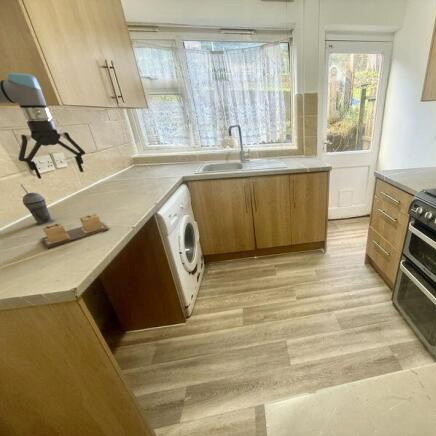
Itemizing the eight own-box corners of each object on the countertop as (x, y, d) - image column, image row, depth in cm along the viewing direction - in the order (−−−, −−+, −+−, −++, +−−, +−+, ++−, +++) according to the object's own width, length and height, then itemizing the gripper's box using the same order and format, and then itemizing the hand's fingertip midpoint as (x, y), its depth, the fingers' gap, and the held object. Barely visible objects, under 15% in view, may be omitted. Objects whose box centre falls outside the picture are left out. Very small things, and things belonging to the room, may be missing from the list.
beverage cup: (56, 223, 117) (36, 183, 108) (36, 228, 112) (13, 187, 104) (55, 219, 121) (35, 180, 113) (35, 224, 117) (13, 184, 108)
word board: (43, 240, 101) (41, 238, 100) (100, 224, 115) (99, 221, 115) (48, 249, 94) (47, 246, 93) (108, 231, 108) (107, 228, 108)
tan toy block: (47, 239, 99) (41, 226, 97) (65, 234, 103) (59, 222, 101) (50, 243, 96) (44, 230, 94) (68, 237, 100) (62, 225, 98)
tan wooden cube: (83, 228, 108) (79, 217, 106) (98, 224, 112) (94, 213, 110) (87, 232, 105) (82, 220, 102) (102, 227, 109) (98, 215, 106)
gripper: (-9, 121, 83) (20, 182, 91) (82, 119, 100) (99, 170, 109) (-10, 121, 87) (18, 179, 95) (77, 119, 104) (94, 168, 113)
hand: (61, 174), depth 102 cm, fingers open, 13 cm apart
